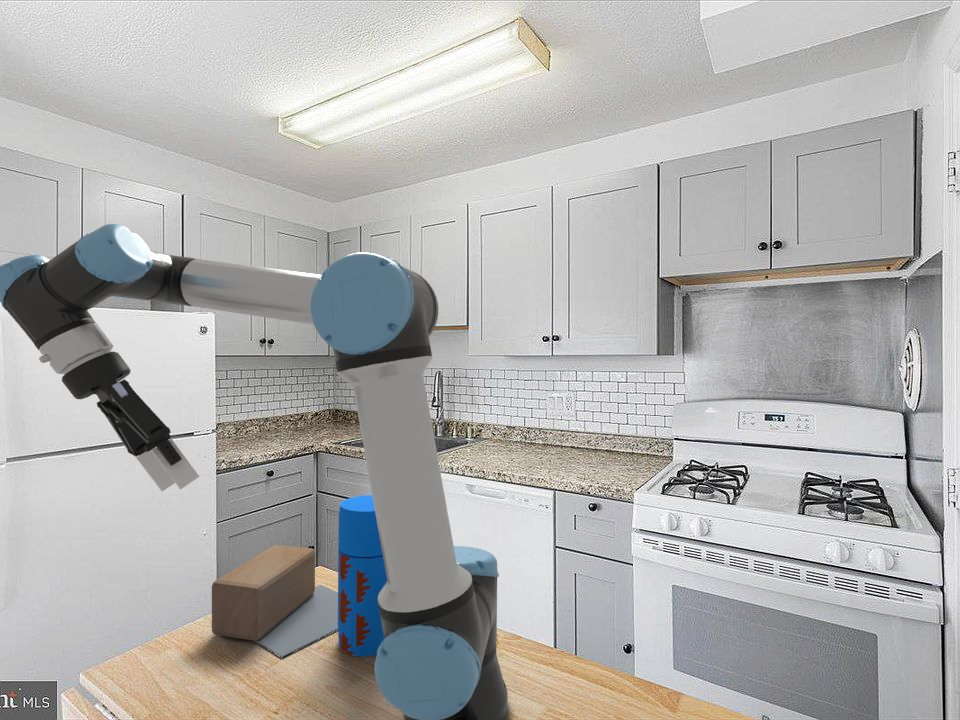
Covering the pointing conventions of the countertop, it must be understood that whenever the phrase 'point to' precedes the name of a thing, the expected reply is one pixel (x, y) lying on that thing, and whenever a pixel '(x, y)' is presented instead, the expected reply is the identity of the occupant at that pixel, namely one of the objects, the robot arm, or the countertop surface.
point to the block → (262, 592)
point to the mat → (304, 623)
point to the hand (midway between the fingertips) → (179, 484)
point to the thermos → (359, 577)
